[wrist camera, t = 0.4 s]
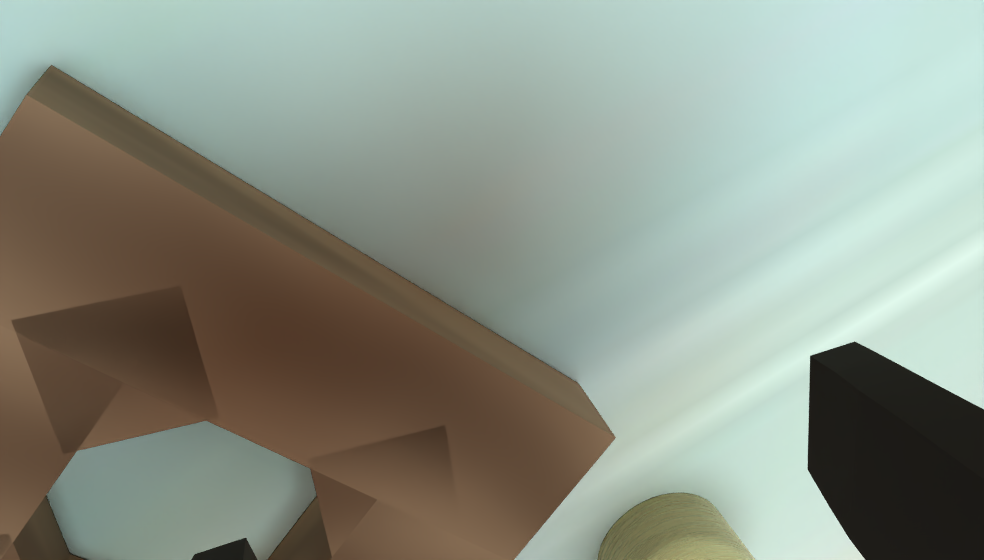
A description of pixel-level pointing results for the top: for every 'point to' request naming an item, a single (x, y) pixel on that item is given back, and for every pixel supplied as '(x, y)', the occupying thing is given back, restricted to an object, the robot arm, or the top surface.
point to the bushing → (673, 532)
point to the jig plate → (254, 350)
